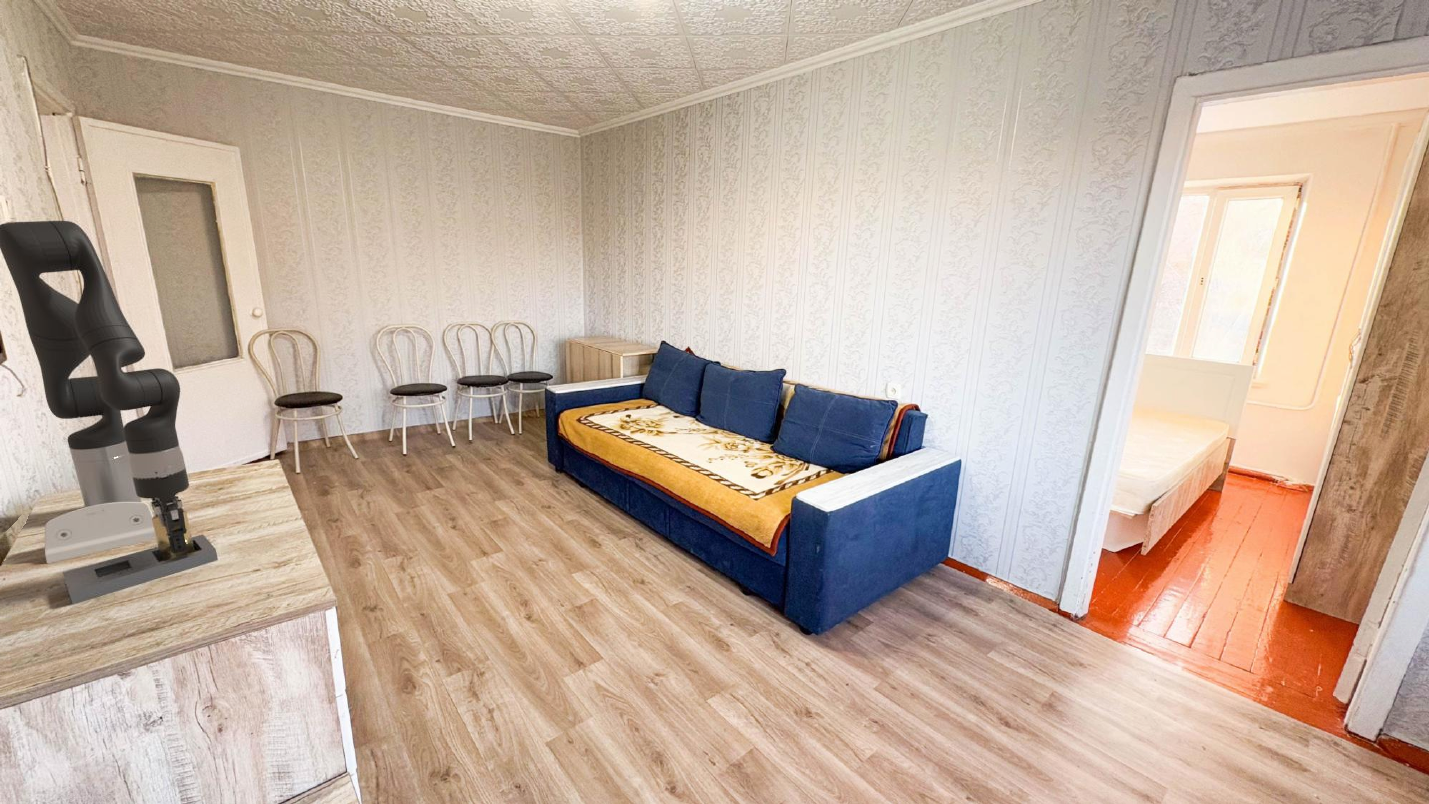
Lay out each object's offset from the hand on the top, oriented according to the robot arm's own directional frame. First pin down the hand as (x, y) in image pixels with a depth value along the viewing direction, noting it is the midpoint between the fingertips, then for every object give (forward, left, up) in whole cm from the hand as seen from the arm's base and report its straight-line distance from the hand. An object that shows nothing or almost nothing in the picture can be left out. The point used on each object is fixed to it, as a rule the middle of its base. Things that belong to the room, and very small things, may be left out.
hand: (176, 546), depth 112 cm
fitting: (0, 0, -2) cm, 2 cm away
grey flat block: (0, -5, -3) cm, 6 cm away
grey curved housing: (-21, -8, -4) cm, 23 cm away
